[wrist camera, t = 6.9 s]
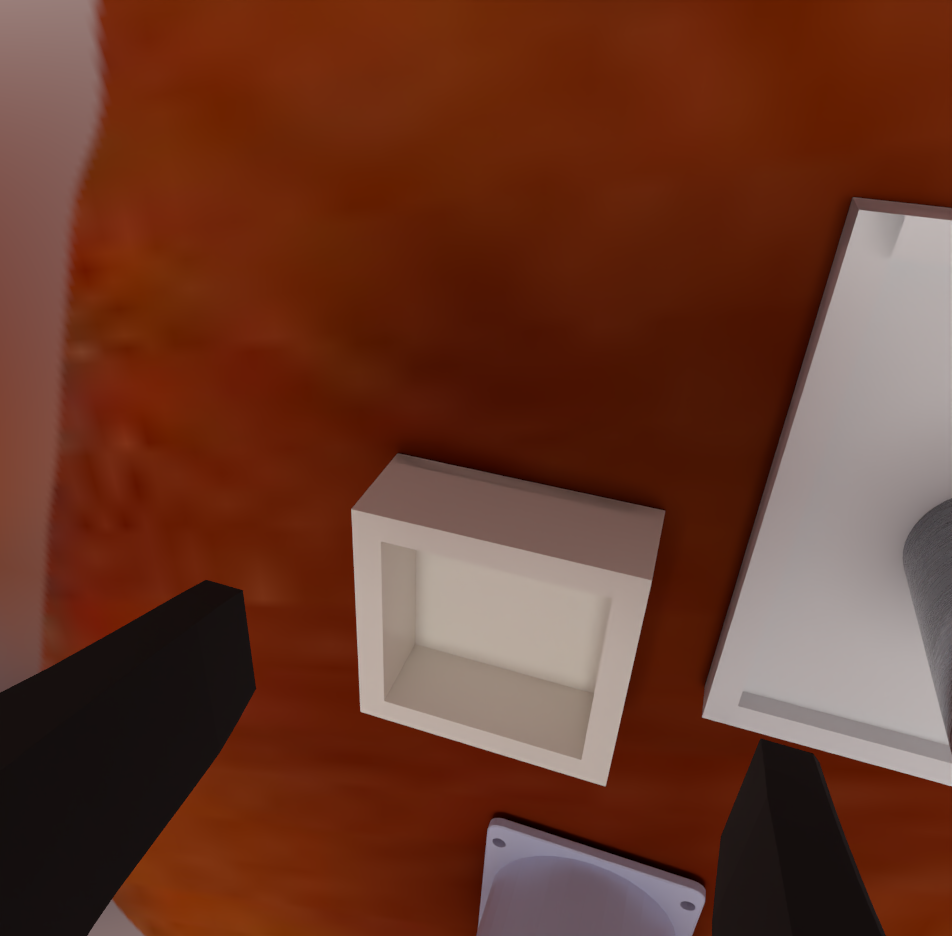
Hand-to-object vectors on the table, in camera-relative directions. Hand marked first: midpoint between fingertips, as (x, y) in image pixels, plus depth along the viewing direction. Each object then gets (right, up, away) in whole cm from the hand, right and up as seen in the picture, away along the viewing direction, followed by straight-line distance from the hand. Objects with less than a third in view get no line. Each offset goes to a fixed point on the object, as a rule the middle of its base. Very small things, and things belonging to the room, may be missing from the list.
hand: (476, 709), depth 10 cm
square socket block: (+1, 0, +12) cm, 13 cm away
